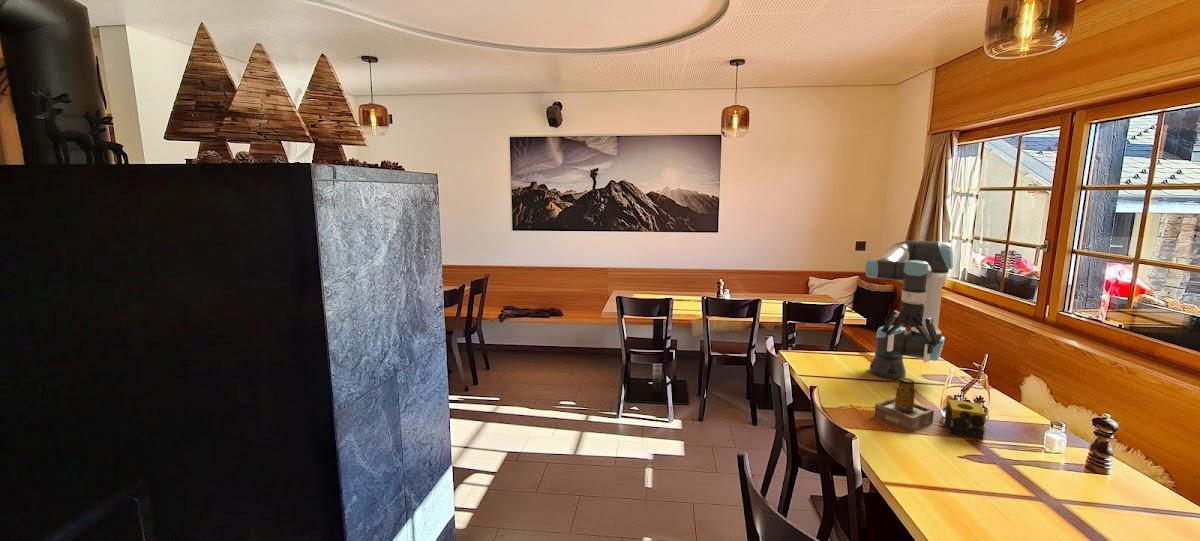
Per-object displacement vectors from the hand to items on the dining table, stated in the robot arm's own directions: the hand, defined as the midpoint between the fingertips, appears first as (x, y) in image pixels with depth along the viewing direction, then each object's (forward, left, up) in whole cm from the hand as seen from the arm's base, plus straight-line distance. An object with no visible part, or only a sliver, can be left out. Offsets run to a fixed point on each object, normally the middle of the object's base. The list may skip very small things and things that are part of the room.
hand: (907, 356), depth 187 cm
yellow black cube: (-8, +18, -25) cm, 32 cm away
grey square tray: (+2, +2, -25) cm, 25 cm away
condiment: (+2, +3, -21) cm, 21 cm away
